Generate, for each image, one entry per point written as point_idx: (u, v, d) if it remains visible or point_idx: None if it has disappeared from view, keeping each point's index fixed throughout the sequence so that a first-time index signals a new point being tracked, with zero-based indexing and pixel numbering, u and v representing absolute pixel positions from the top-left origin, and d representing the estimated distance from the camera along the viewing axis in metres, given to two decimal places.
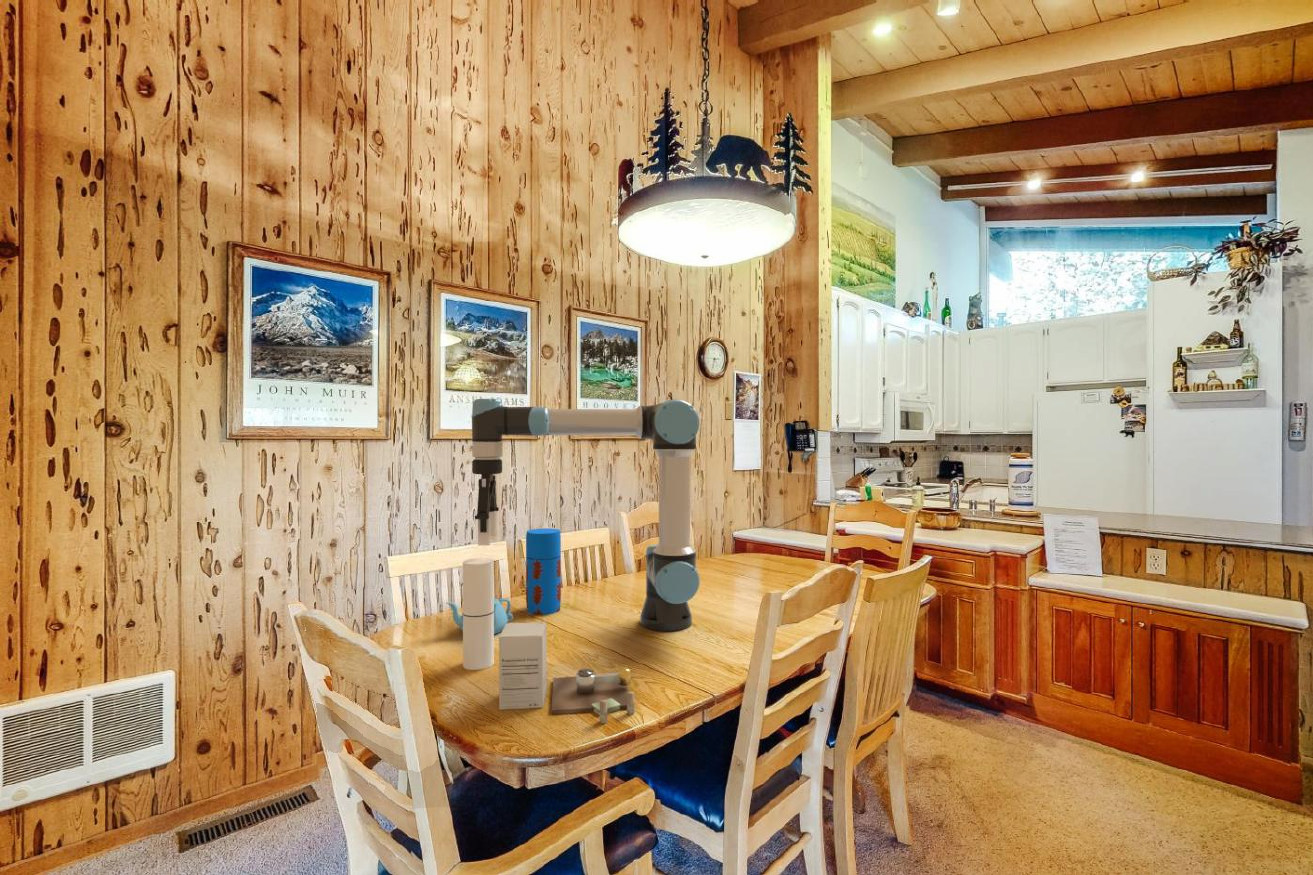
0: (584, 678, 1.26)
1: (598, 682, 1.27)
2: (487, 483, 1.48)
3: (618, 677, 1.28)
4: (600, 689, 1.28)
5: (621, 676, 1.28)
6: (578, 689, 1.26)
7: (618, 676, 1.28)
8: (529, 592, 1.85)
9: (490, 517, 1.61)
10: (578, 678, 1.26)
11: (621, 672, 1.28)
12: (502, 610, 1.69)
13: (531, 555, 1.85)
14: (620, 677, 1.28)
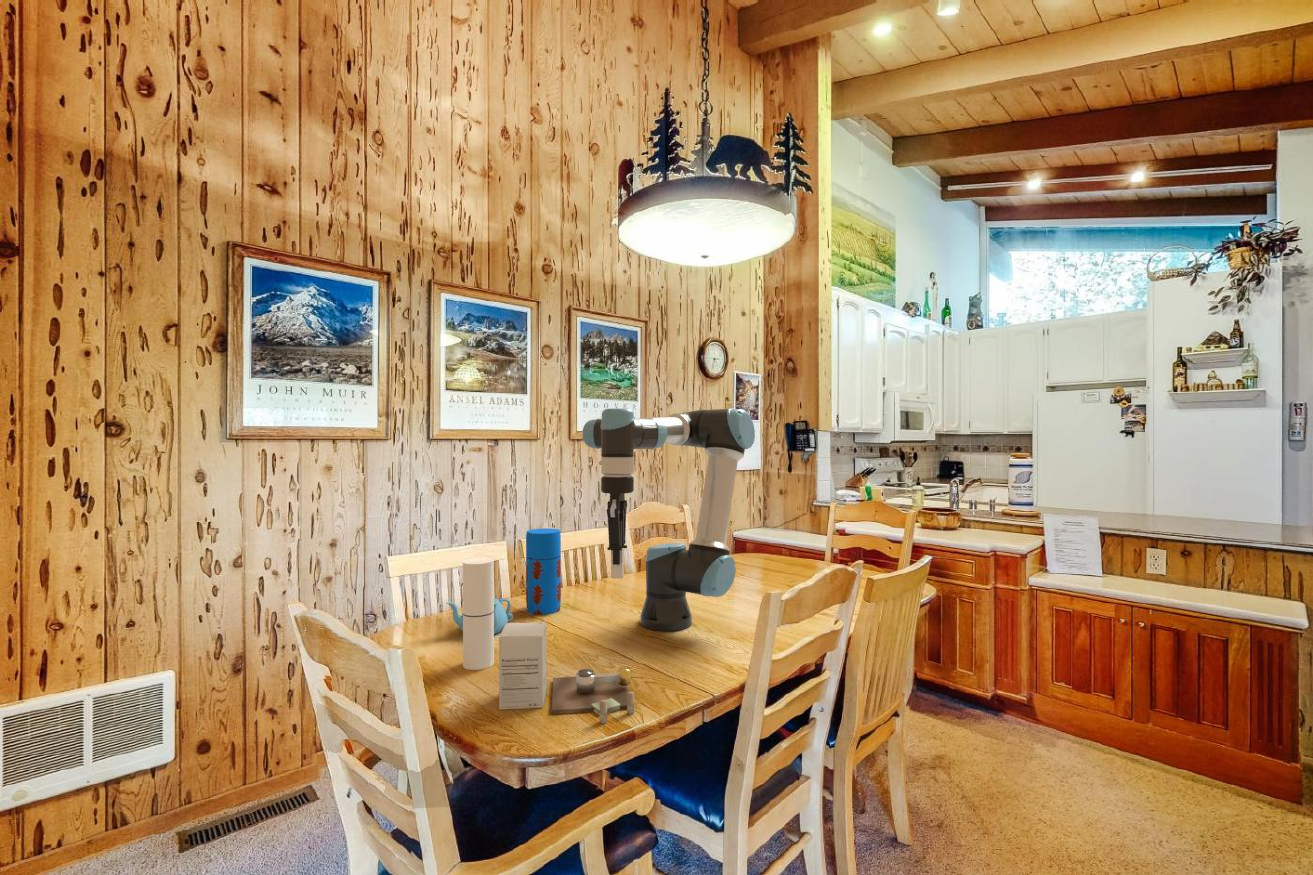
0: (584, 678, 1.26)
1: (598, 682, 1.27)
2: (616, 515, 1.32)
3: (618, 677, 1.28)
4: (600, 689, 1.28)
5: (621, 676, 1.28)
6: (578, 689, 1.26)
7: (618, 676, 1.28)
8: (529, 592, 1.85)
9: None
10: (578, 678, 1.26)
11: (621, 672, 1.28)
12: (502, 610, 1.69)
13: (531, 555, 1.85)
14: (620, 677, 1.28)
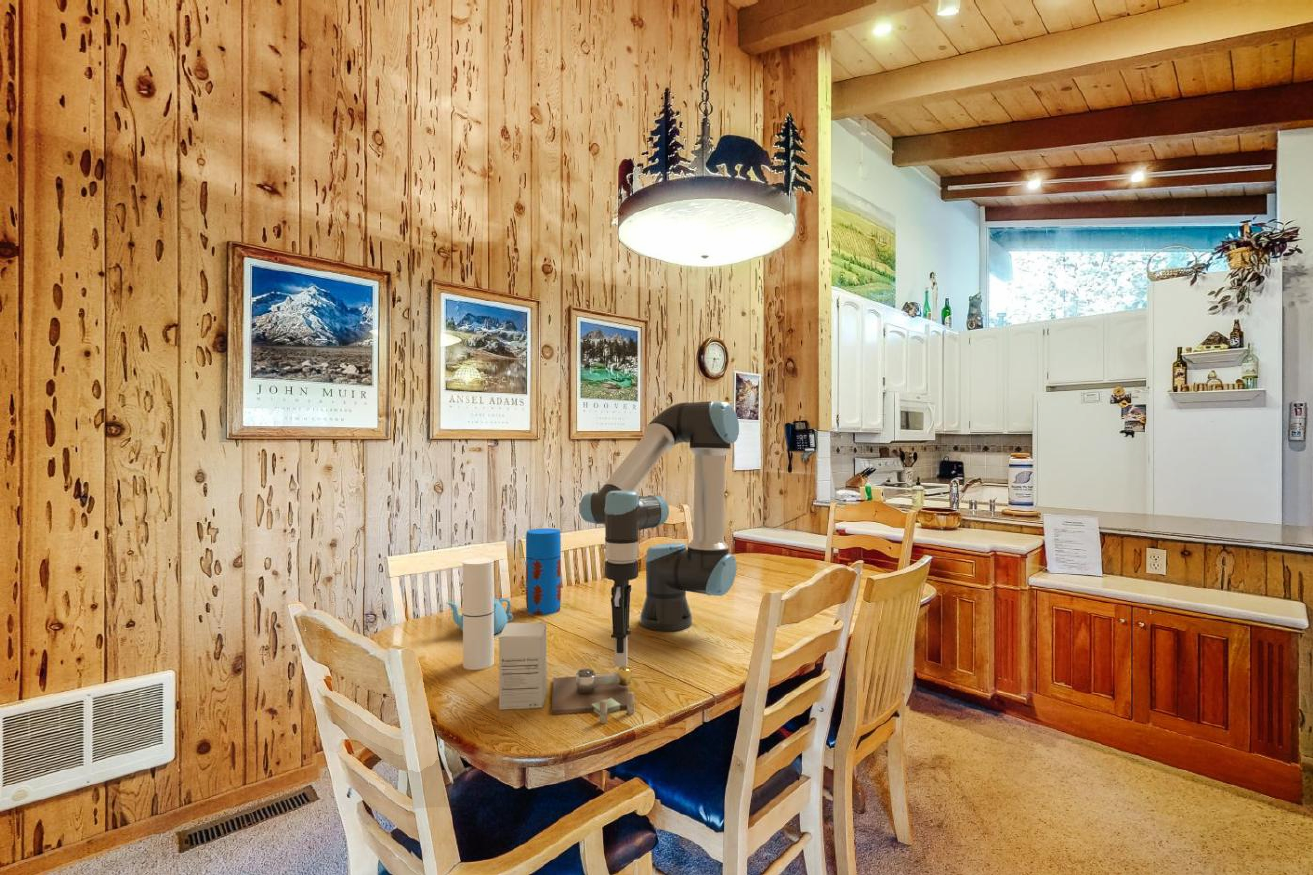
0: (584, 678, 1.26)
1: (598, 682, 1.27)
2: (620, 604, 1.28)
3: (618, 677, 1.28)
4: (600, 689, 1.28)
5: (621, 676, 1.28)
6: (578, 689, 1.26)
7: (618, 676, 1.28)
8: (529, 592, 1.85)
9: None
10: (578, 678, 1.26)
11: (621, 672, 1.28)
12: (502, 610, 1.69)
13: (531, 555, 1.85)
14: (620, 677, 1.28)
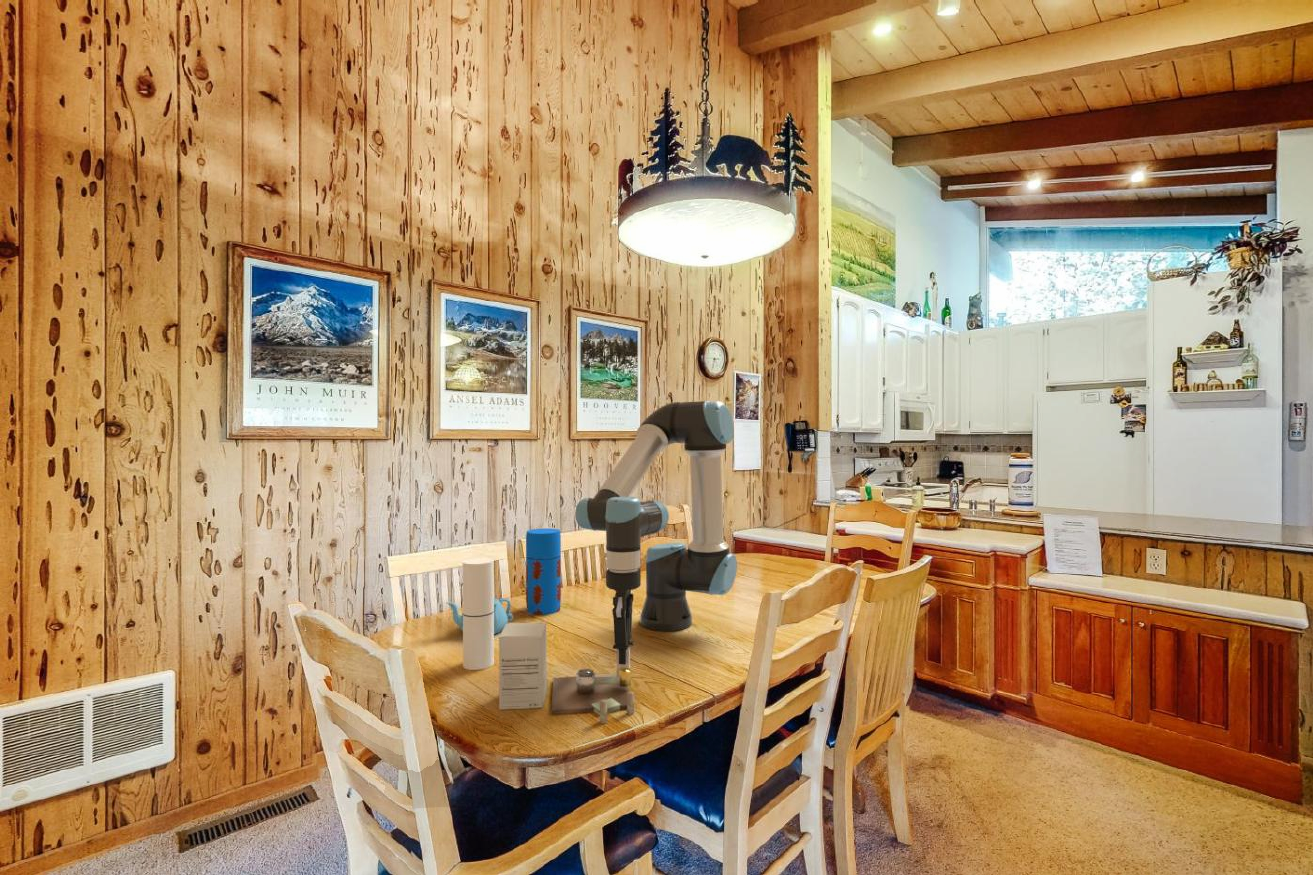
0: (583, 678, 1.26)
1: (597, 682, 1.27)
2: (622, 615, 1.24)
3: (618, 678, 1.27)
4: (600, 689, 1.28)
5: (621, 677, 1.27)
6: (578, 689, 1.26)
7: (618, 677, 1.27)
8: (529, 592, 1.85)
9: None
10: (578, 678, 1.26)
11: (621, 673, 1.27)
12: (502, 610, 1.69)
13: (531, 555, 1.85)
14: (620, 678, 1.27)
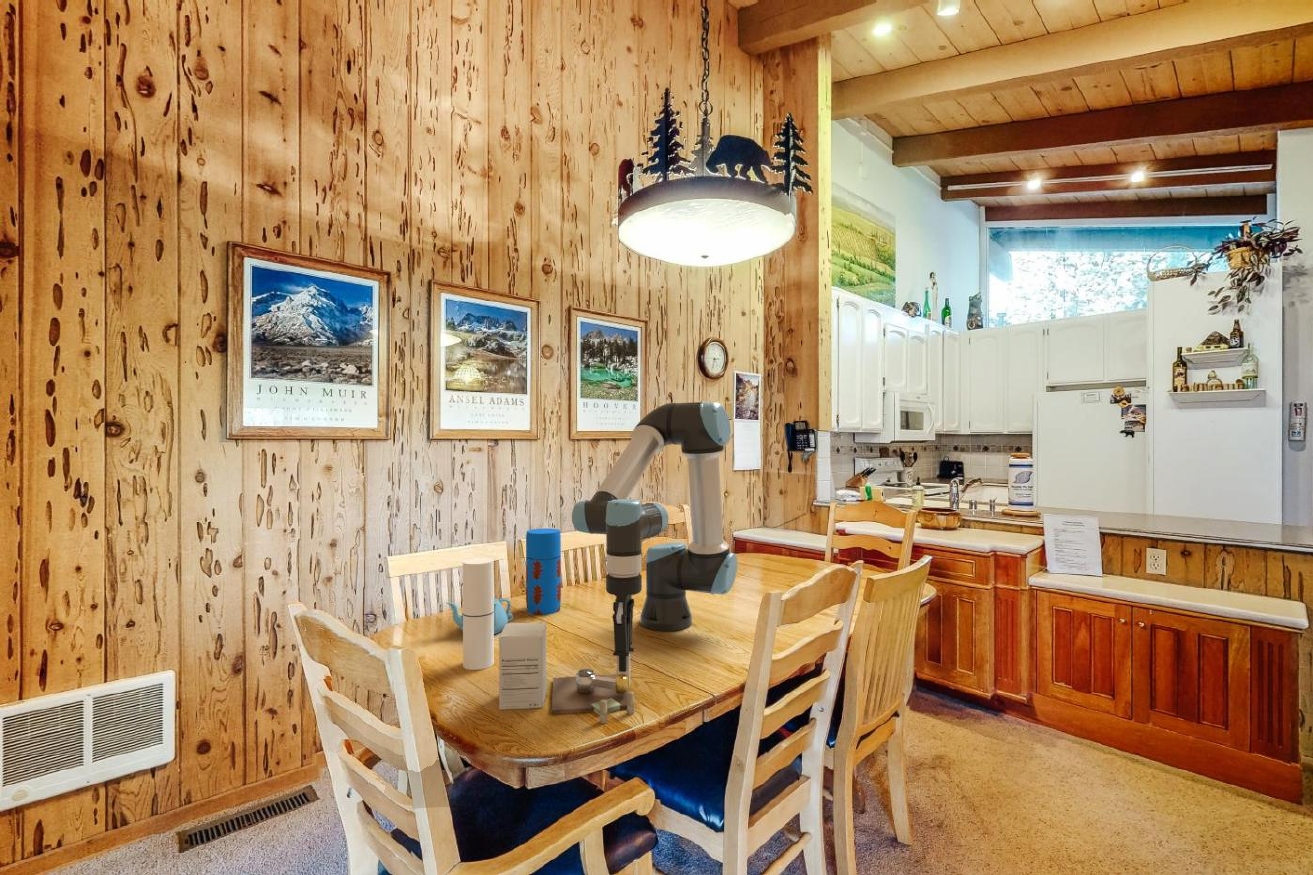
0: (580, 677, 1.26)
1: (595, 684, 1.26)
2: (623, 621, 1.21)
3: (613, 684, 1.24)
4: (600, 689, 1.28)
5: (615, 683, 1.24)
6: (576, 687, 1.27)
7: (613, 683, 1.24)
8: (529, 592, 1.85)
9: None
10: (576, 676, 1.27)
11: (616, 679, 1.24)
12: (502, 610, 1.69)
13: (531, 555, 1.85)
14: (616, 684, 1.24)
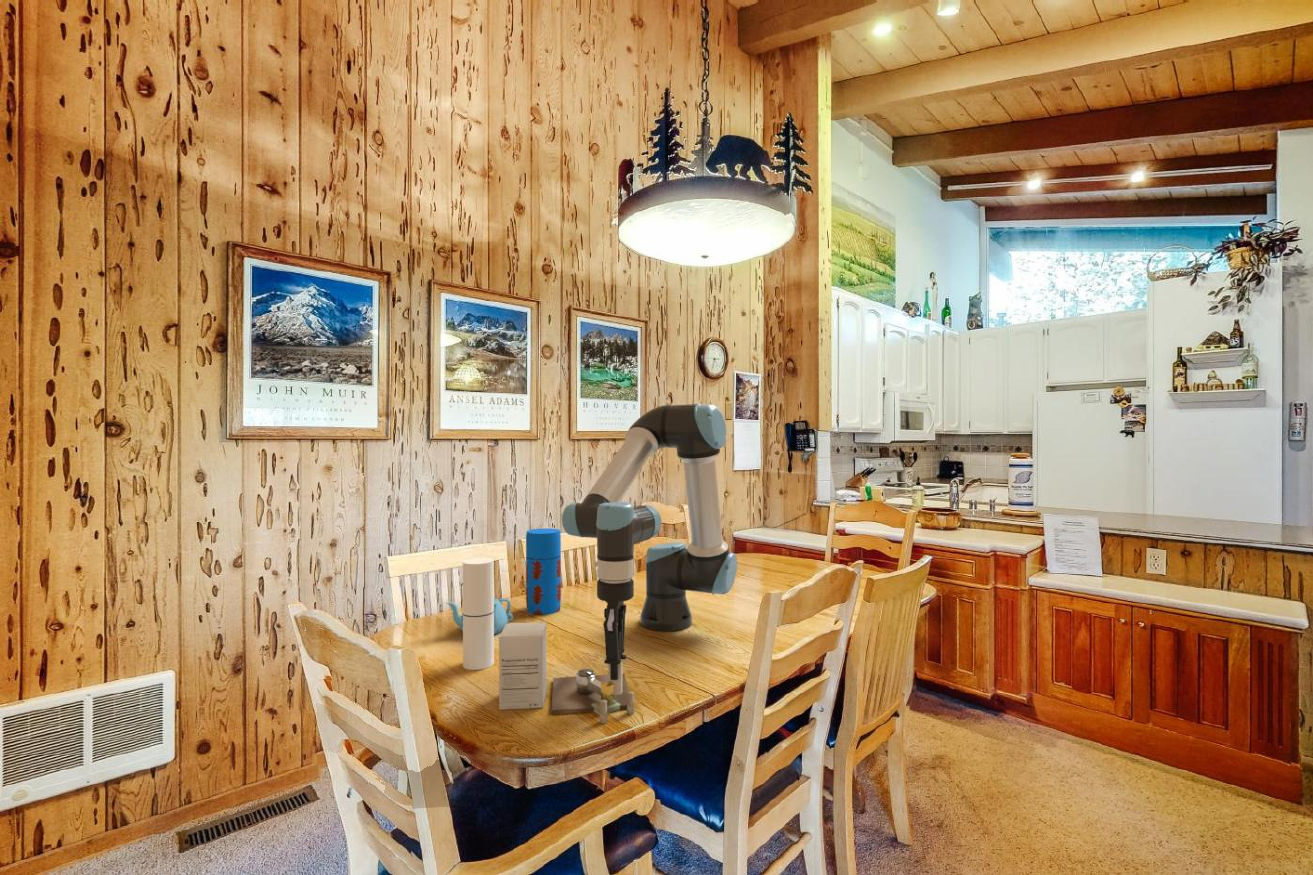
0: (577, 676, 1.27)
1: (588, 686, 1.25)
2: (614, 629, 1.17)
3: (600, 689, 1.22)
4: None
5: (600, 690, 1.21)
6: None
7: (600, 688, 1.22)
8: (529, 592, 1.85)
9: None
10: None
11: (600, 685, 1.21)
12: (502, 610, 1.69)
13: (531, 555, 1.85)
14: None
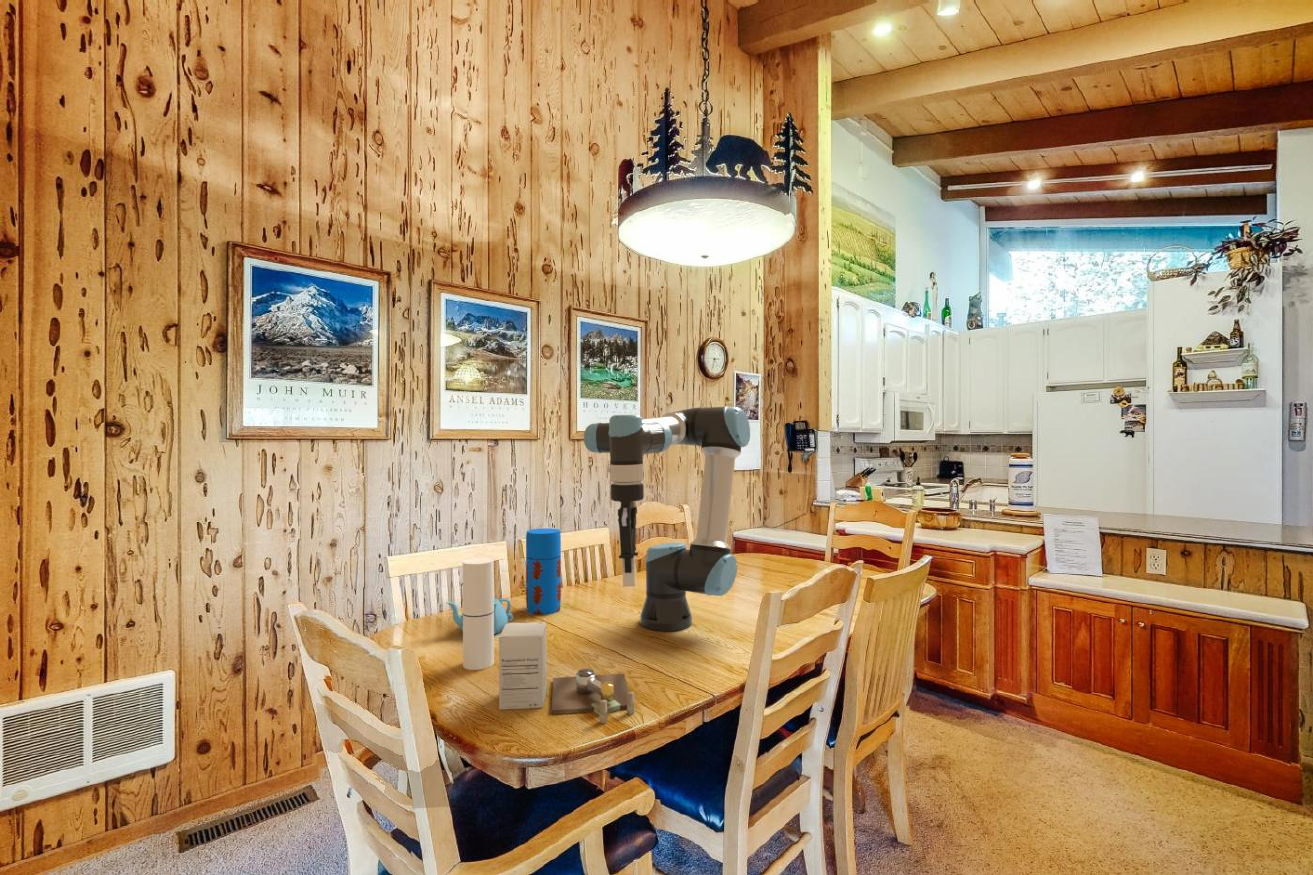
0: (577, 676, 1.27)
1: (588, 686, 1.25)
2: (628, 523, 1.30)
3: (600, 689, 1.22)
4: None
5: (600, 690, 1.21)
6: None
7: (600, 688, 1.22)
8: (529, 592, 1.85)
9: None
10: None
11: (600, 685, 1.21)
12: (502, 610, 1.69)
13: (531, 555, 1.85)
14: None
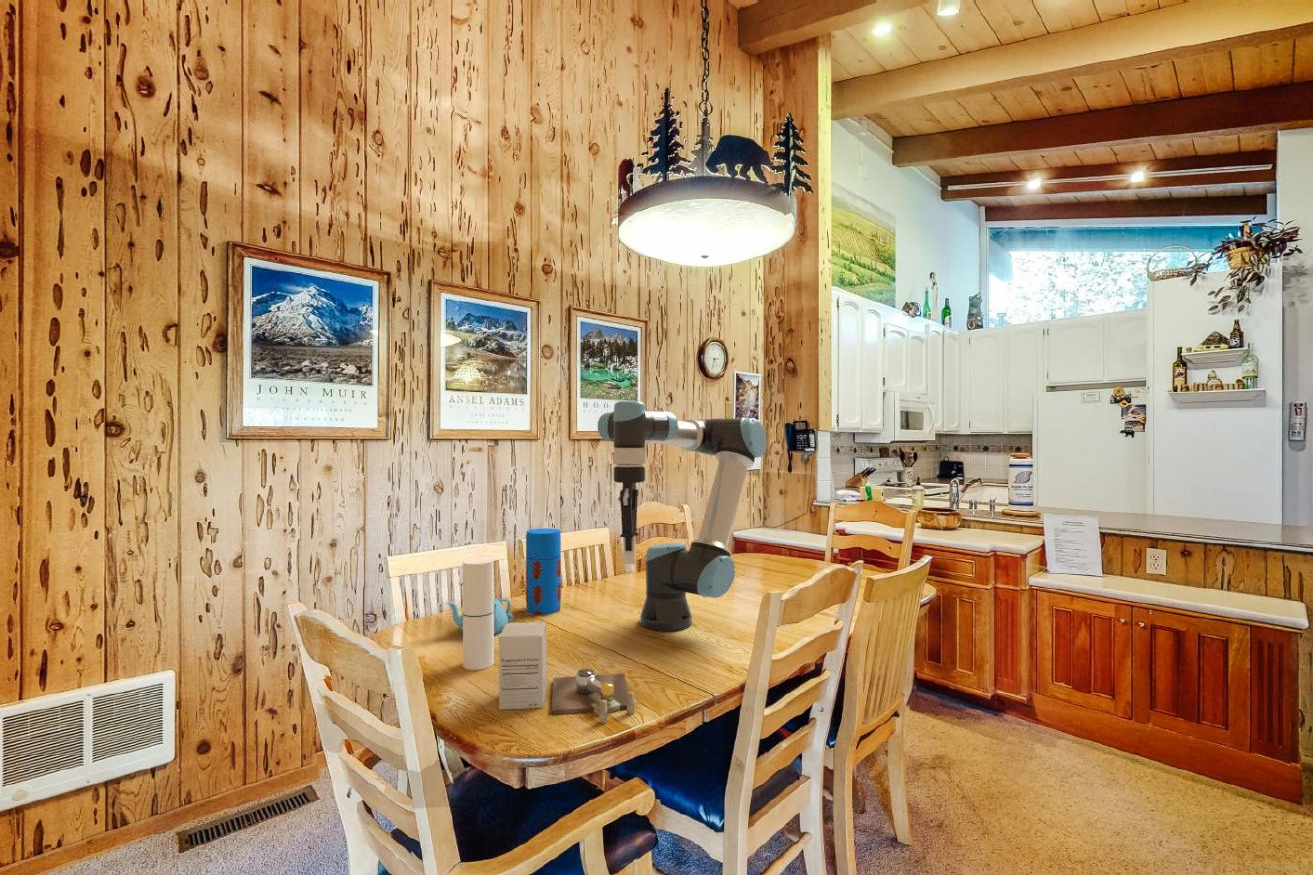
0: (577, 676, 1.27)
1: (588, 686, 1.25)
2: (629, 503, 1.38)
3: (600, 689, 1.22)
4: None
5: (600, 690, 1.21)
6: None
7: (600, 688, 1.22)
8: (529, 592, 1.85)
9: None
10: None
11: (600, 685, 1.21)
12: (502, 610, 1.69)
13: (531, 555, 1.85)
14: None
